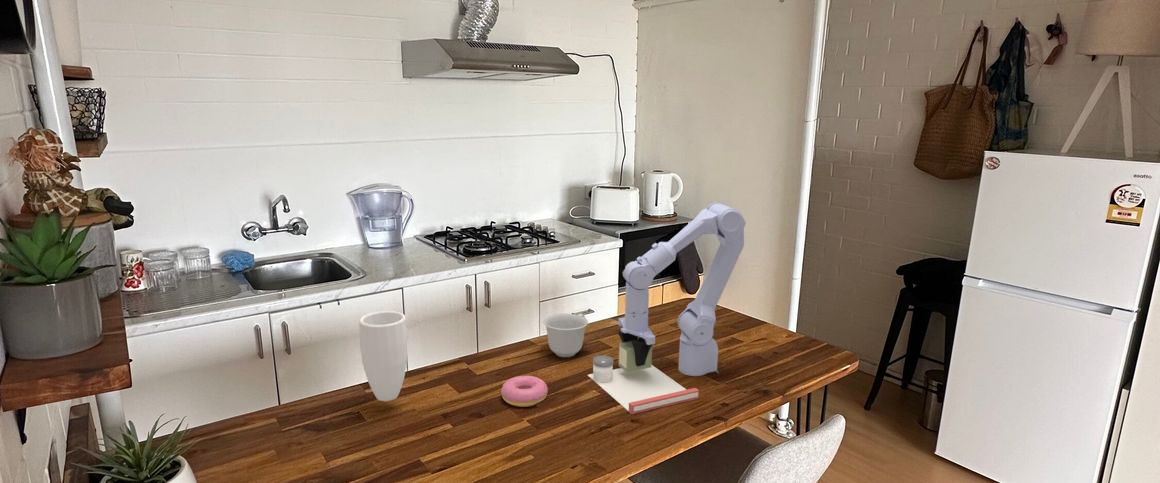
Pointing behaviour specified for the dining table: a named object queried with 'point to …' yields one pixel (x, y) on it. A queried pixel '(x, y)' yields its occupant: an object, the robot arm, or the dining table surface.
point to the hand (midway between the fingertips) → (635, 361)
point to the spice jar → (602, 369)
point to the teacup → (565, 333)
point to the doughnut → (524, 391)
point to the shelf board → (646, 389)
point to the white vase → (384, 352)
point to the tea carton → (631, 358)
